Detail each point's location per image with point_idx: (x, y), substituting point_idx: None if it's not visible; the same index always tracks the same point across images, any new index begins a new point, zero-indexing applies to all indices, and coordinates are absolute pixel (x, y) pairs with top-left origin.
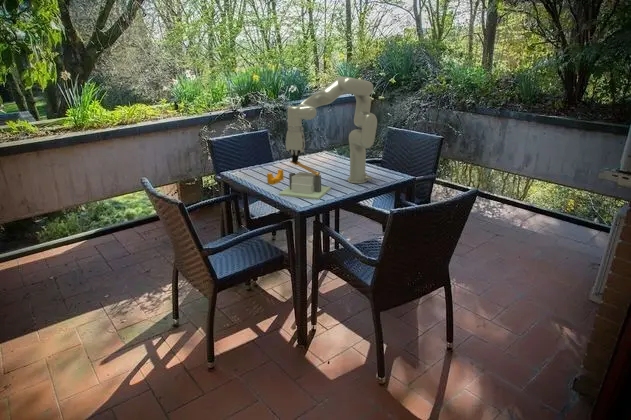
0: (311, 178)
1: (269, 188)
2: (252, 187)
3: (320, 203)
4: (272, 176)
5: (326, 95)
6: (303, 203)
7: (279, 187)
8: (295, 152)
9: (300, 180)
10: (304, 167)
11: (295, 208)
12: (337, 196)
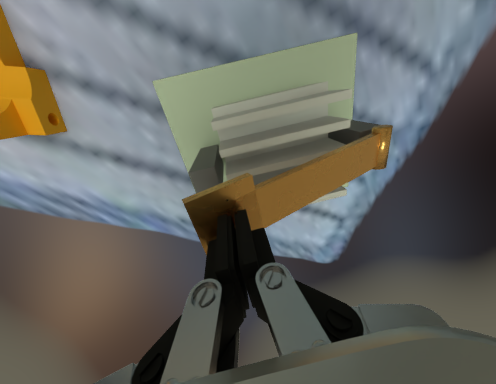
0: (345, 192)
1: (112, 180)
2: (47, 206)
3: (359, 203)
4: (5, 116)
5: None
6: (314, 226)
7: (131, 148)
8: (279, 353)
9: None
10: (313, 197)
11: (311, 258)
12: (398, 119)
